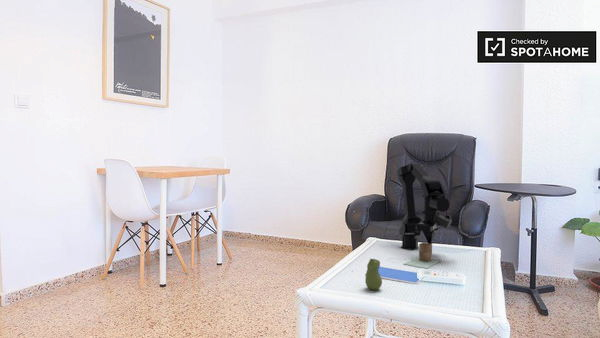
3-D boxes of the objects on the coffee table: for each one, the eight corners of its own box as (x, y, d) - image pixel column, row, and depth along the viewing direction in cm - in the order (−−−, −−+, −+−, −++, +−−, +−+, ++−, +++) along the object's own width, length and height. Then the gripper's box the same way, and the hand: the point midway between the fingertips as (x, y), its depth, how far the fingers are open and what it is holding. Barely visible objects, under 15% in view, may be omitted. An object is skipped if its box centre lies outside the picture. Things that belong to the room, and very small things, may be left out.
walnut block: (419, 260, 166) (419, 244, 166) (422, 258, 169) (422, 242, 169) (428, 262, 164) (428, 245, 163) (431, 260, 167) (432, 243, 166)
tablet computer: (426, 277, 146) (426, 273, 146) (417, 286, 135) (417, 282, 135) (376, 269, 156) (376, 265, 156) (364, 277, 145) (364, 273, 145)
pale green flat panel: (403, 264, 161) (403, 263, 161) (416, 257, 172) (416, 257, 172) (427, 268, 155) (427, 268, 155) (439, 261, 166) (439, 260, 166)
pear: (368, 285, 134) (368, 256, 134) (383, 288, 132) (384, 258, 131) (363, 290, 129) (363, 260, 129) (379, 293, 127) (379, 262, 126)
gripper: (442, 212, 158) (441, 251, 158) (456, 208, 172) (456, 243, 173) (415, 210, 164) (414, 247, 165) (431, 206, 179) (430, 240, 180)
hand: (430, 244), depth 170 cm, fingers closed
